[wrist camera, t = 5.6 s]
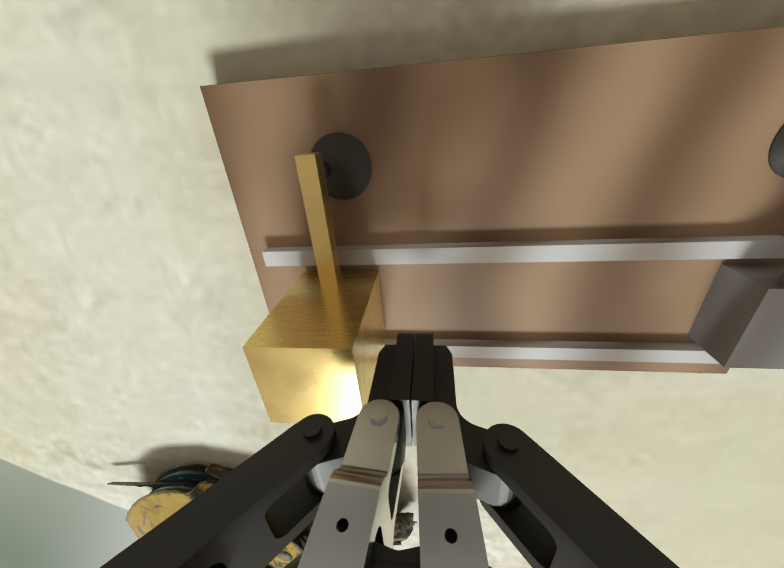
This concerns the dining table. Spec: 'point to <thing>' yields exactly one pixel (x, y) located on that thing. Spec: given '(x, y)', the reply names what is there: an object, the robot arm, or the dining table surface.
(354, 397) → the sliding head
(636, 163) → the gauge board
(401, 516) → the pulley block
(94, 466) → the dining table surface
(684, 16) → the dining table surface
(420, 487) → the robot arm
